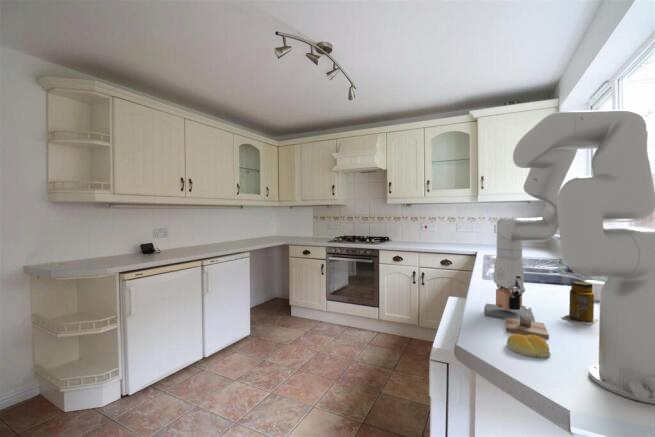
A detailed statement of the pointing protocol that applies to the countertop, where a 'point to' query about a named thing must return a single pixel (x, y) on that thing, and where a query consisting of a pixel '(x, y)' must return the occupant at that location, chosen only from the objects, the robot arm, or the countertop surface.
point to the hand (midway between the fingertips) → (508, 305)
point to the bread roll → (528, 345)
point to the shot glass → (596, 288)
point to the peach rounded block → (504, 298)
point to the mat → (503, 312)
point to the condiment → (581, 303)
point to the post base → (526, 328)
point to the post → (525, 316)
